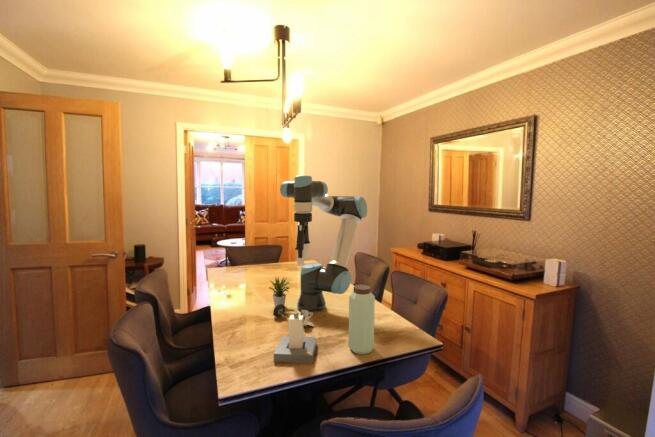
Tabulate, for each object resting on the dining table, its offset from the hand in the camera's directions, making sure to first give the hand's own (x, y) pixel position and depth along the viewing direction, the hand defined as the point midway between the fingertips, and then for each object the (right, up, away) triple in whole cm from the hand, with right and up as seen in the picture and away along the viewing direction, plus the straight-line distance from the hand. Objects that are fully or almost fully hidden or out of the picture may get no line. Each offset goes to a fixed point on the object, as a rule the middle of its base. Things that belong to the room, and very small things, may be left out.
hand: (303, 261), depth 134 cm
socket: (-2, -33, -14) cm, 36 cm away
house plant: (-15, -29, +33) cm, 46 cm away
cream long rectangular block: (-2, -33, -14) cm, 36 cm away
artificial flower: (-5, -31, +15) cm, 34 cm away
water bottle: (+24, -33, -11) cm, 42 cm away
